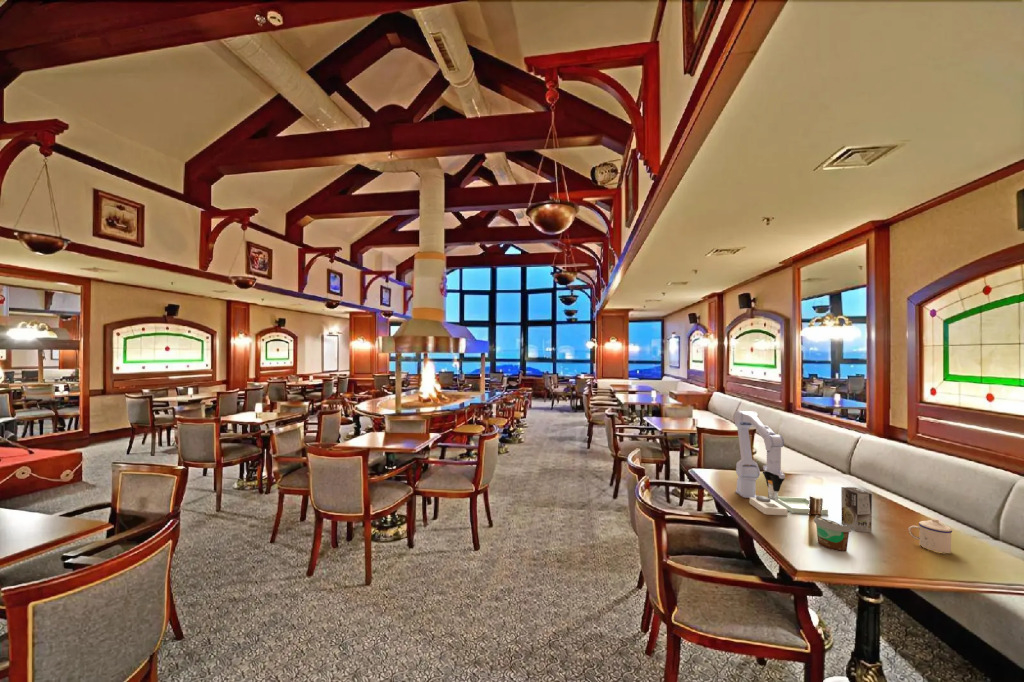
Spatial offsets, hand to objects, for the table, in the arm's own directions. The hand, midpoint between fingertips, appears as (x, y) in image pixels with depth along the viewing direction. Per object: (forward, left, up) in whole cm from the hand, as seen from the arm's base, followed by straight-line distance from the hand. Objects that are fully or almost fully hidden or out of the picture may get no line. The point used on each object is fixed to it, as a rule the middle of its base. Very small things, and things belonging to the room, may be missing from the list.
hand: (773, 489), depth 196 cm
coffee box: (+15, +27, -11) cm, 32 cm away
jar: (0, 0, -4) cm, 4 cm away
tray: (-6, +16, -10) cm, 20 cm away
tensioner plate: (-2, -1, -10) cm, 11 cm away
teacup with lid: (+32, +42, -11) cm, 54 cm away
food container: (+36, +1, -11) cm, 37 cm away
